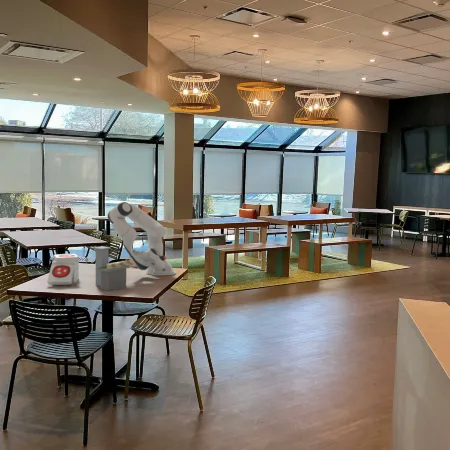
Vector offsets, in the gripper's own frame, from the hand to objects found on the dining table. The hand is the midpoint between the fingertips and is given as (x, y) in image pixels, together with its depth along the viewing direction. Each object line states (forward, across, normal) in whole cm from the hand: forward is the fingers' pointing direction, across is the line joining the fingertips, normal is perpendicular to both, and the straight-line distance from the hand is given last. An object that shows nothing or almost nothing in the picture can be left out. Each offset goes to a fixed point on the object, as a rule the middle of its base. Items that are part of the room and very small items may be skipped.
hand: (137, 251), depth 351 cm
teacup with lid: (-51, -48, -3) cm, 70 cm away
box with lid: (+8, 0, +31) cm, 32 cm away
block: (+10, 0, +16) cm, 19 cm away
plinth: (+7, -13, +30) cm, 33 cm away
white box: (+16, -39, +35) cm, 55 cm away
